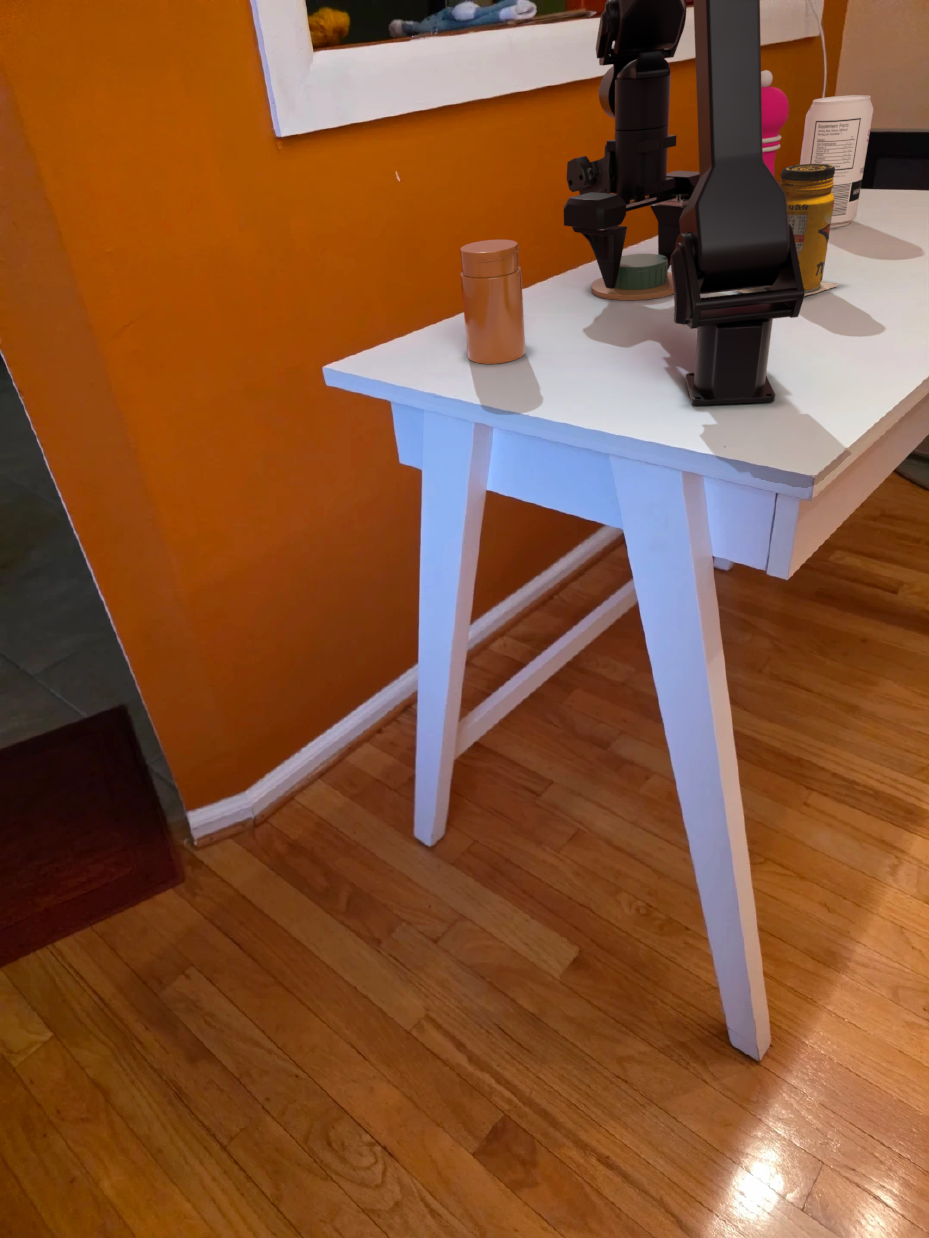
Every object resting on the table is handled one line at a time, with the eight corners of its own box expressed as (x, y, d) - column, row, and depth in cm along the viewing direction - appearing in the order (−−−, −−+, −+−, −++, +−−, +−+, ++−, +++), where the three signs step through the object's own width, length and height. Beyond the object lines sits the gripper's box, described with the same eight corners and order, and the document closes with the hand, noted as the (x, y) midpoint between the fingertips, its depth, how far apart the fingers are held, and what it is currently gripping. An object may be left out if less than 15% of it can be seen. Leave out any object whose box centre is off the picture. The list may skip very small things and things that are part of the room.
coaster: (689, 297, 93) (689, 291, 92) (590, 303, 94) (590, 297, 94) (680, 273, 102) (681, 268, 101) (591, 279, 103) (591, 274, 103)
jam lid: (657, 272, 100) (658, 251, 99) (674, 285, 95) (675, 263, 93) (603, 279, 100) (603, 257, 99) (617, 293, 95) (617, 270, 93)
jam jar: (527, 360, 80) (521, 249, 74) (468, 366, 80) (458, 256, 75) (523, 342, 85) (517, 236, 79) (467, 348, 85) (457, 243, 79)
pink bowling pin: (789, 259, 102) (814, 66, 90) (740, 269, 100) (759, 74, 89) (752, 250, 107) (770, 67, 96) (705, 259, 106) (718, 74, 94)
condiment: (838, 286, 91) (858, 163, 84) (787, 303, 87) (803, 177, 80) (784, 276, 96) (798, 160, 89) (733, 292, 92) (744, 173, 85)
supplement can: (780, 224, 118) (794, 102, 109) (824, 214, 120) (841, 94, 112) (822, 232, 112) (841, 103, 103) (868, 221, 114) (890, 94, 106)
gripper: (644, 116, 98) (640, 255, 107) (527, 139, 90) (533, 288, 99) (720, 115, 91) (709, 265, 100) (600, 141, 82) (600, 302, 91)
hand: (637, 279), depth 97 cm, fingers open, 9 cm apart
